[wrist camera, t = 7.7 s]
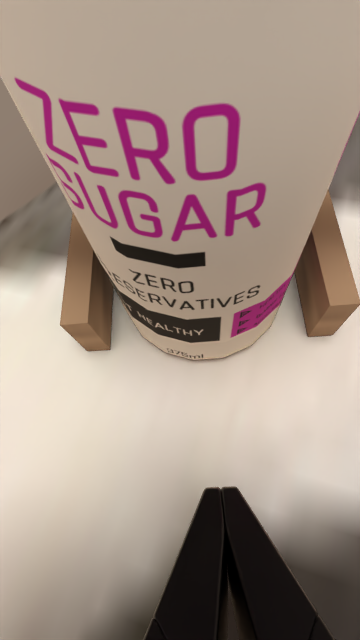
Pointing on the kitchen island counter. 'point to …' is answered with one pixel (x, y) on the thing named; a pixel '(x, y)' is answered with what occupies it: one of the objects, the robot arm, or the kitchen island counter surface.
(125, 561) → the kitchen island counter surface
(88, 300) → the walnut dock
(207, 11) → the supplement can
